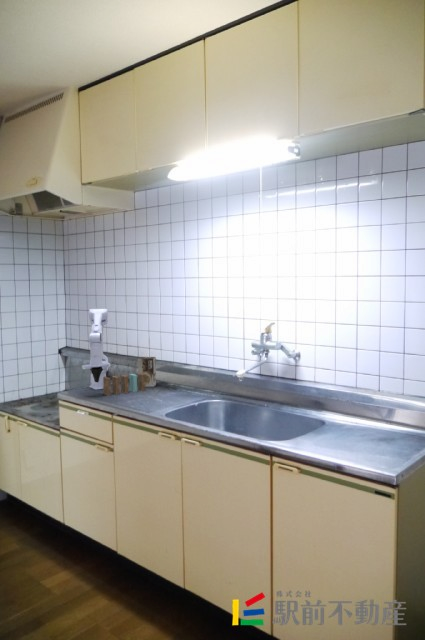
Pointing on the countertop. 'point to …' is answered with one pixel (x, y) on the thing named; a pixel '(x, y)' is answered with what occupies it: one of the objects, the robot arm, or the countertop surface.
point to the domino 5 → (141, 381)
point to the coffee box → (148, 370)
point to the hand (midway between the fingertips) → (96, 381)
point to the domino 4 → (133, 382)
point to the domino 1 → (107, 386)
